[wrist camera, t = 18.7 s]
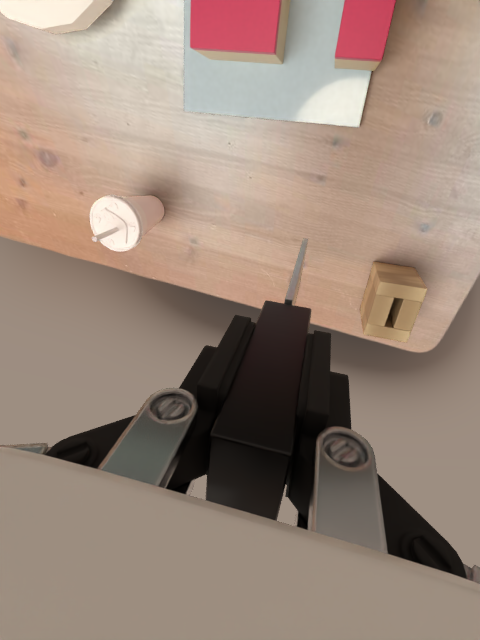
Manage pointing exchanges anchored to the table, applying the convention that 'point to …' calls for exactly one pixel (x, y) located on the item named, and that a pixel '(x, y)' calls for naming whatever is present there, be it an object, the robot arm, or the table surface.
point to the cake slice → (363, 33)
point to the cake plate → (282, 75)
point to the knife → (261, 410)
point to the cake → (240, 29)
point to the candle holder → (55, 13)
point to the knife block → (391, 301)
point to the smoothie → (124, 219)
